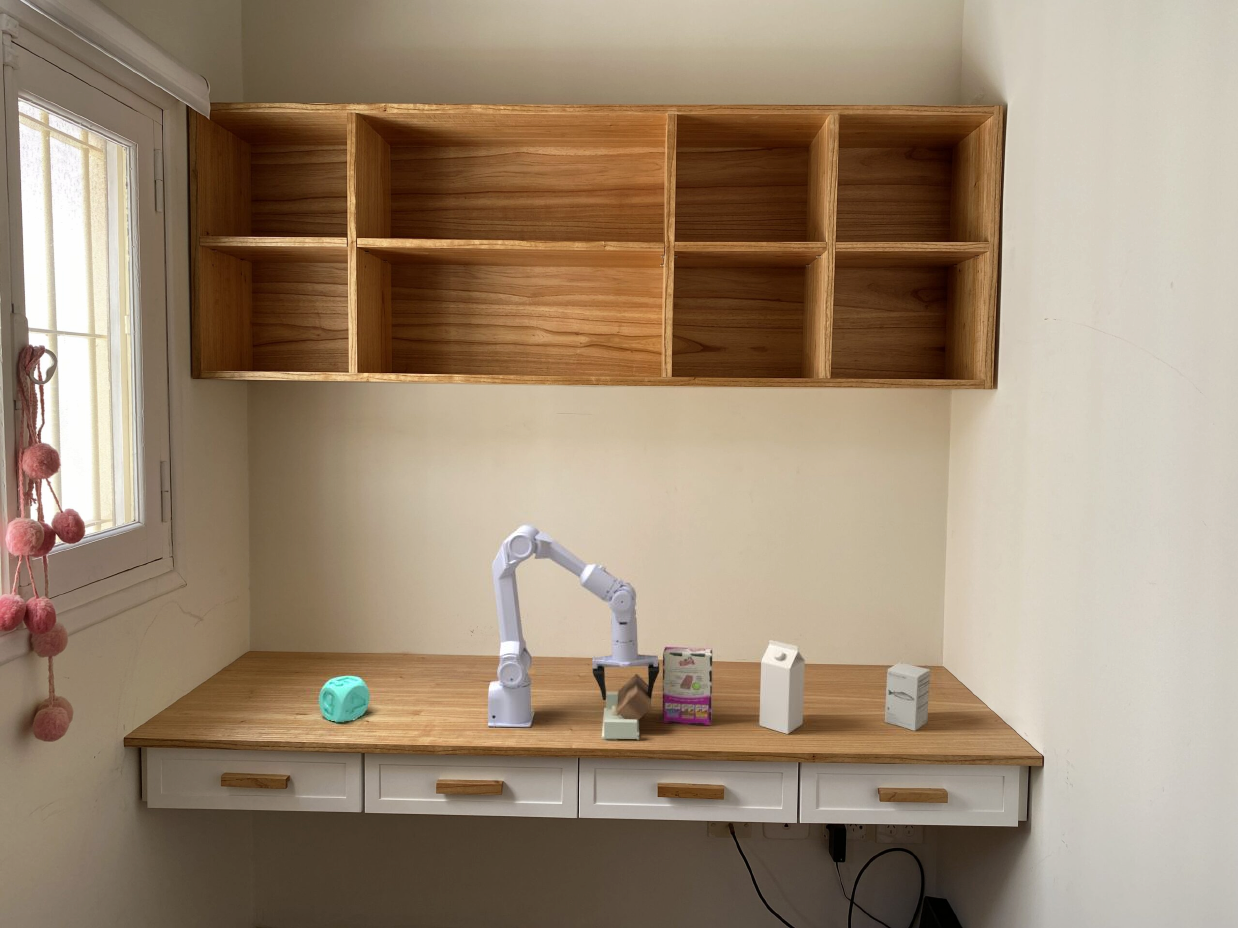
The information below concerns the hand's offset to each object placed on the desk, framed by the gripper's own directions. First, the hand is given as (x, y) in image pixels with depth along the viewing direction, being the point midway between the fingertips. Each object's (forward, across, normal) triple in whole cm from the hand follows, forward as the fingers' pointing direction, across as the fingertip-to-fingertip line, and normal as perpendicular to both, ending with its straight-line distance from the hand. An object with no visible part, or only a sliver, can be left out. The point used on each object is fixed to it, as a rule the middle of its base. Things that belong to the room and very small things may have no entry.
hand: (626, 697), depth 183 cm
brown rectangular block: (+2, 0, 0) cm, 2 cm away
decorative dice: (+3, -64, +2) cm, 65 cm away
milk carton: (+8, +34, +1) cm, 35 cm away
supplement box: (+10, +63, +4) cm, 64 cm away
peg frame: (+6, -2, 0) cm, 6 cm away
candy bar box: (+7, +13, +3) cm, 15 cm away
